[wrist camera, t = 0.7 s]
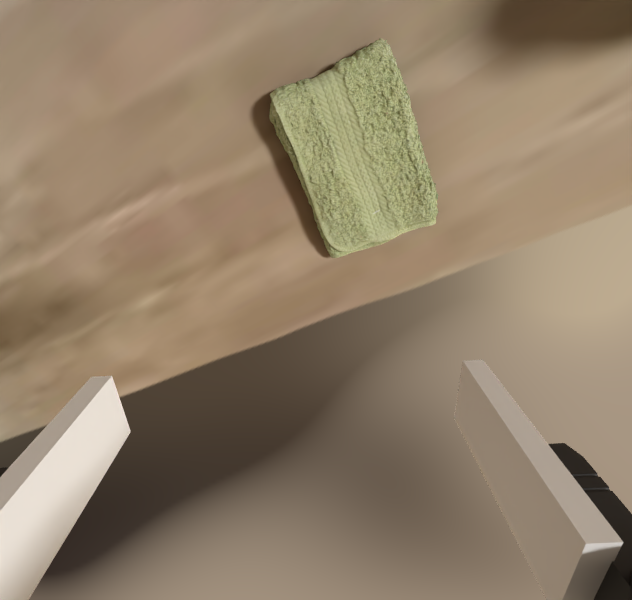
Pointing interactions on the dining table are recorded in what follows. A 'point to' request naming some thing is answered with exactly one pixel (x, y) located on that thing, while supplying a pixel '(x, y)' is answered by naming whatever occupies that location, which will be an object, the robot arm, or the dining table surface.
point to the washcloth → (357, 151)
